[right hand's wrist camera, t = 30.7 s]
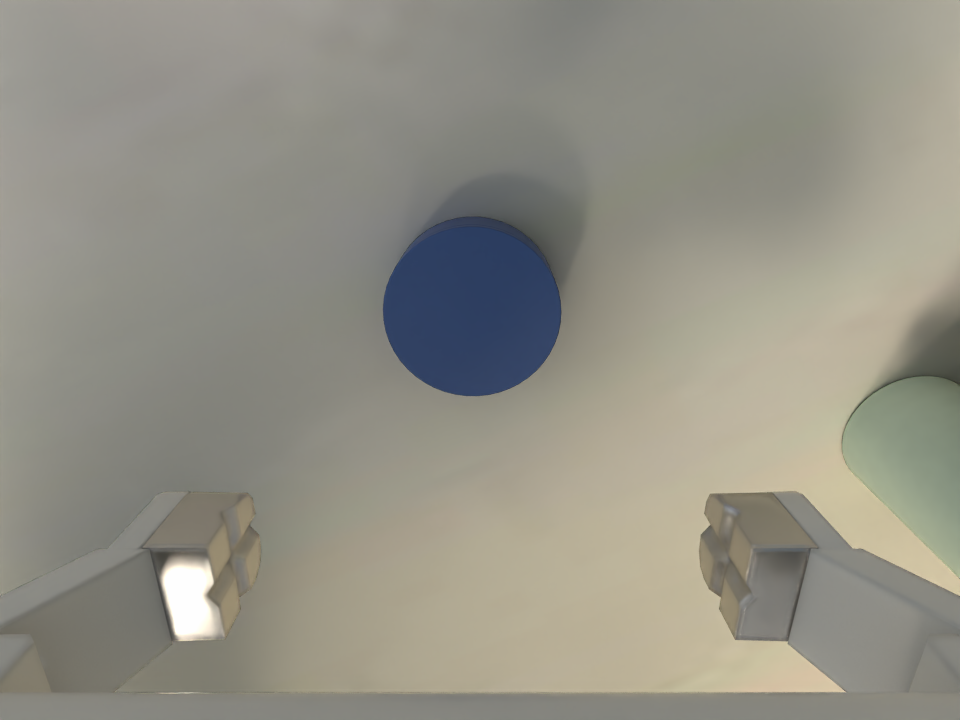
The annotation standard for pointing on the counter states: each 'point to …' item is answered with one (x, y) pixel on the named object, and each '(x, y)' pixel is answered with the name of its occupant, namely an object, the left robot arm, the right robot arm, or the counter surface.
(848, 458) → the jar
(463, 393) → the lid
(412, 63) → the counter surface
